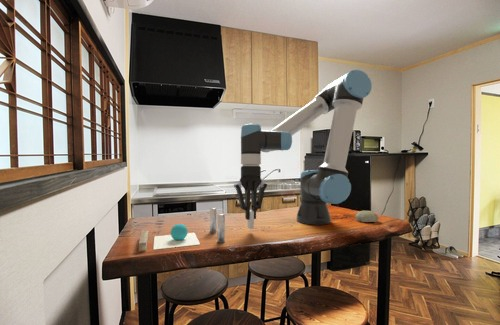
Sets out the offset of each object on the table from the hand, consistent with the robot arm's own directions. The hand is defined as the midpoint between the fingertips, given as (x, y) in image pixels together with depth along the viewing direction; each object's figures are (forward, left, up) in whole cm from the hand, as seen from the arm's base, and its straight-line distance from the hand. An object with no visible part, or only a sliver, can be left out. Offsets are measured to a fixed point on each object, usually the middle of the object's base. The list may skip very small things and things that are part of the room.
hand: (250, 227), depth 91 cm
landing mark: (+15, +22, -2) cm, 27 cm away
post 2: (+2, +14, -2) cm, 14 cm away
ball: (+15, +21, +1) cm, 26 cm away
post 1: (+12, +7, -2) cm, 15 cm away
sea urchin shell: (-32, -47, -2) cm, 57 cm away
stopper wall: (+21, +31, -2) cm, 37 cm away
